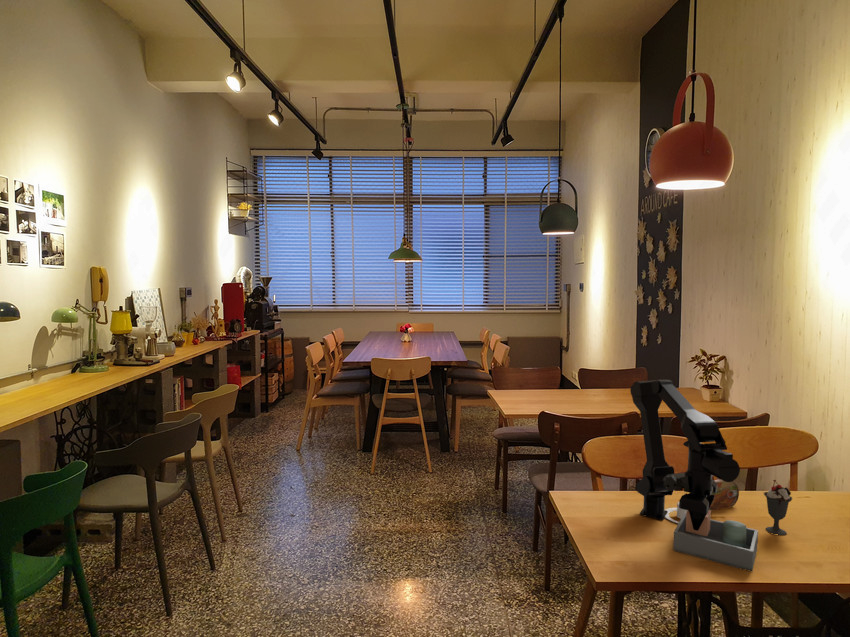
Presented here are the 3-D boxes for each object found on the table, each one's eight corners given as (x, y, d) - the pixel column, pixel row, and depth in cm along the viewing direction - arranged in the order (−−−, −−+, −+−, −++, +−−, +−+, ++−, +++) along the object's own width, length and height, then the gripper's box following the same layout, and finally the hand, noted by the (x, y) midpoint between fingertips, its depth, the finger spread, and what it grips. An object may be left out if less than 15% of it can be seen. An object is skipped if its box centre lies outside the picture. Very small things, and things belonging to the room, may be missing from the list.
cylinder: (723, 545, 140) (724, 518, 140) (746, 550, 138) (746, 523, 137) (721, 553, 136) (722, 526, 136) (745, 558, 133) (745, 530, 133)
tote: (683, 530, 150) (684, 513, 150) (757, 549, 140) (758, 530, 139) (673, 550, 139) (673, 531, 139) (752, 571, 129) (753, 551, 129)
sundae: (762, 534, 148) (765, 480, 147) (760, 524, 154) (763, 472, 153) (791, 539, 145) (794, 484, 144) (788, 529, 151) (791, 476, 150)
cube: (689, 524, 145) (689, 505, 145) (710, 529, 142) (710, 510, 142) (685, 531, 141) (686, 512, 141) (707, 536, 138) (707, 517, 138)
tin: (698, 512, 162) (699, 485, 161) (690, 508, 165) (691, 481, 164) (739, 506, 166) (740, 479, 165) (731, 502, 169) (732, 476, 168)
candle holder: (716, 528, 152) (716, 513, 152) (672, 528, 153) (672, 513, 152) (696, 510, 164) (697, 496, 164) (656, 509, 164) (656, 495, 164)
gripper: (674, 452, 153) (672, 506, 154) (658, 471, 138) (656, 531, 139) (718, 460, 146) (716, 516, 147) (707, 481, 131) (704, 543, 132)
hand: (697, 526), depth 142 cm, fingers closed on cube, 5 cm apart
